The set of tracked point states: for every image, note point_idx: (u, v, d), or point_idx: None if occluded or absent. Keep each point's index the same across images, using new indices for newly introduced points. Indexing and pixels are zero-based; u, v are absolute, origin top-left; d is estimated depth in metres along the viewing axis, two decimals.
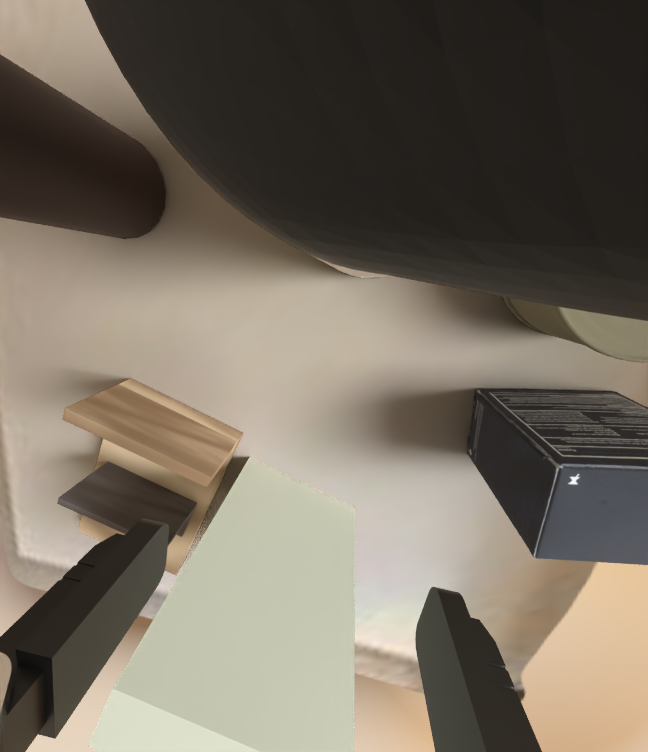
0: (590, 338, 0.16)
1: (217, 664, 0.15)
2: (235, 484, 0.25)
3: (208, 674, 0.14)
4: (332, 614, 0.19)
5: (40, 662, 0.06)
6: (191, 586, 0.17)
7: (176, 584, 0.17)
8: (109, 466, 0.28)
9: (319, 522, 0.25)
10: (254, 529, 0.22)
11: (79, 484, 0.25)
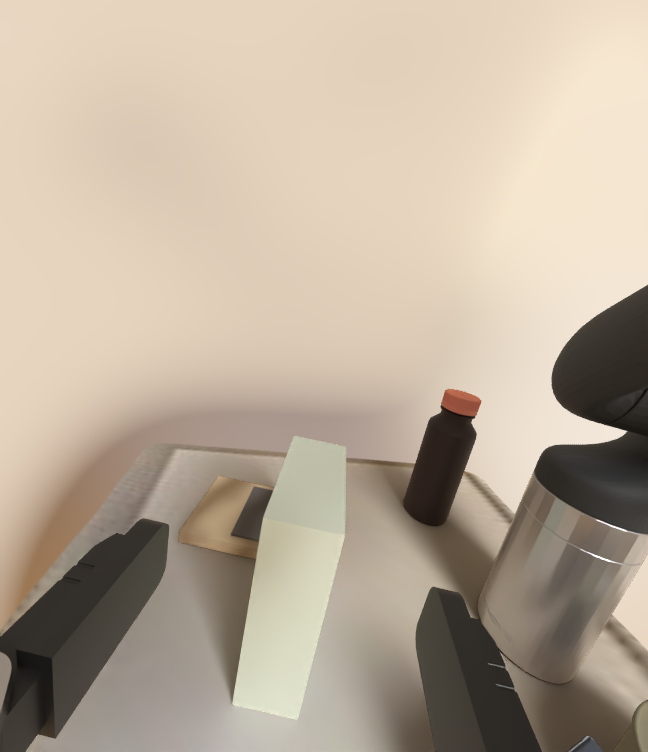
0: None
1: None
2: None
3: None
4: None
5: (40, 662, 0.06)
6: None
7: None
8: None
9: None
10: None
11: None
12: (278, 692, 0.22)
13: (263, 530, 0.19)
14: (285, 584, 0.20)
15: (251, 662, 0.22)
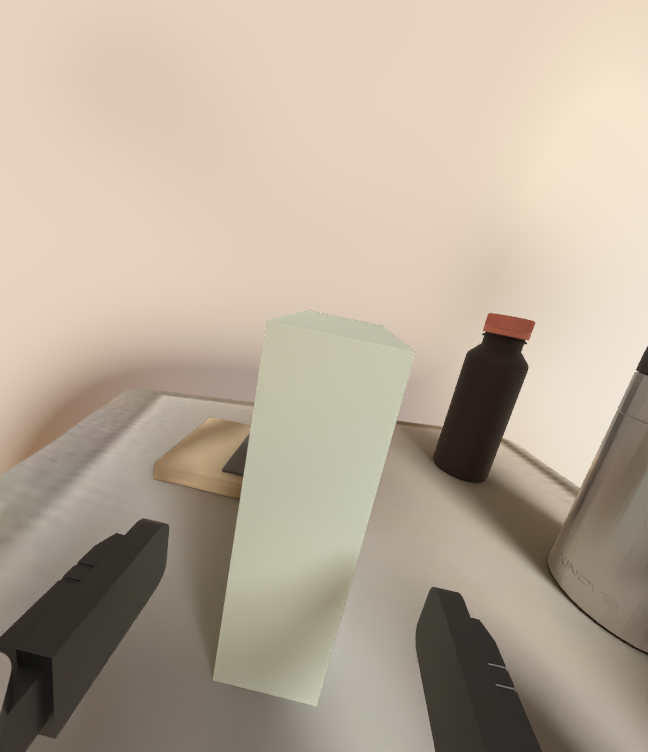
0: None
1: None
2: None
3: None
4: None
5: (40, 662, 0.06)
6: None
7: None
8: None
9: None
10: None
11: None
12: (287, 659, 0.14)
13: (267, 347, 0.10)
14: (304, 457, 0.11)
15: (244, 606, 0.13)
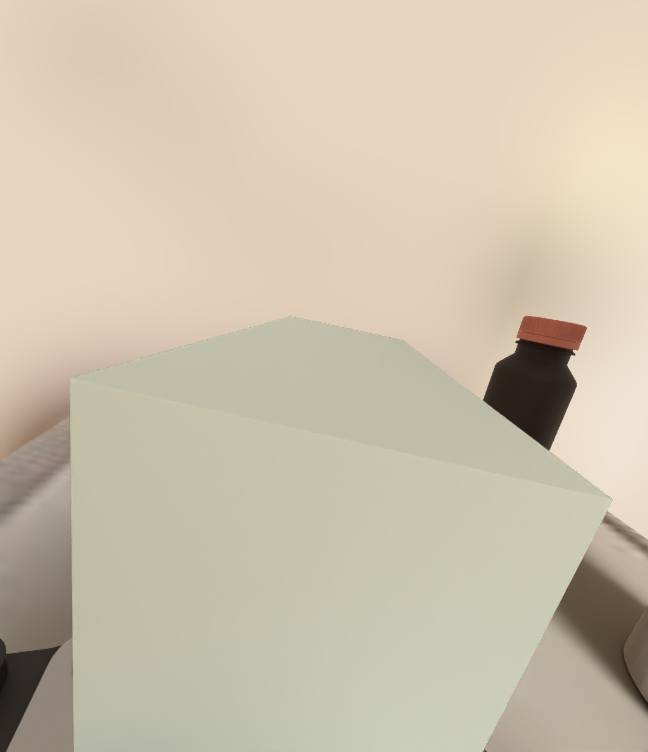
0: None
1: None
2: None
3: None
4: None
5: None
6: None
7: None
8: None
9: None
10: None
11: None
12: None
13: (85, 464, 0.03)
14: None
15: None
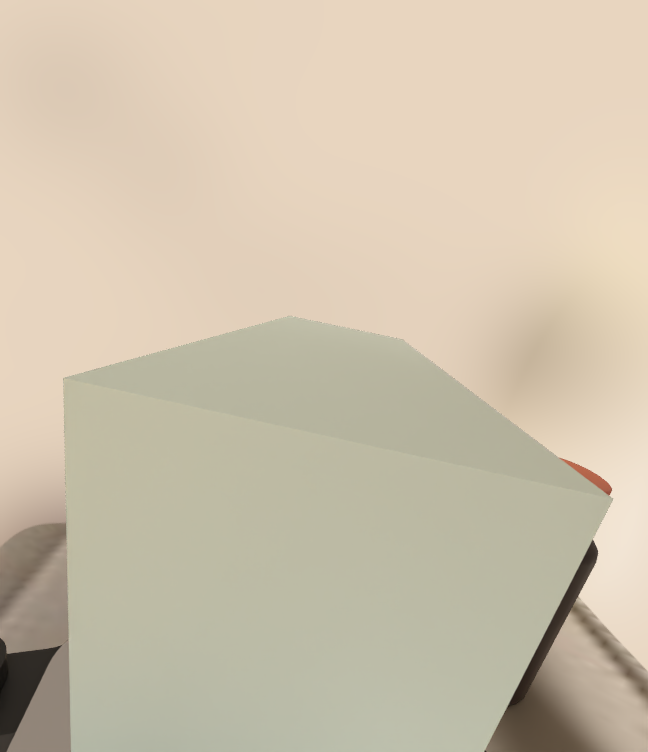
0: None
1: None
2: None
3: None
4: None
5: None
6: None
7: None
8: None
9: None
10: None
11: None
12: None
13: (80, 465, 0.03)
14: None
15: None
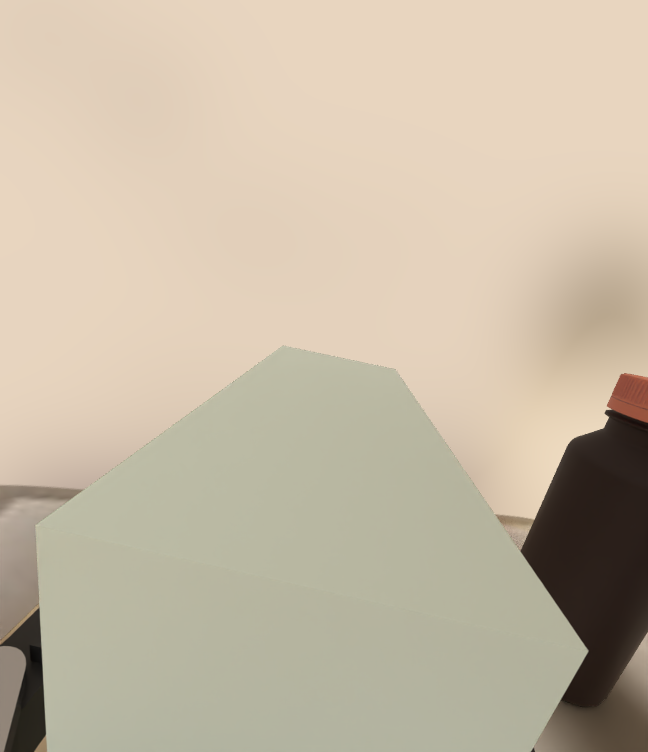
0: None
1: None
2: None
3: None
4: None
5: None
6: None
7: None
8: None
9: None
10: None
11: None
12: None
13: (55, 601, 0.03)
14: None
15: None
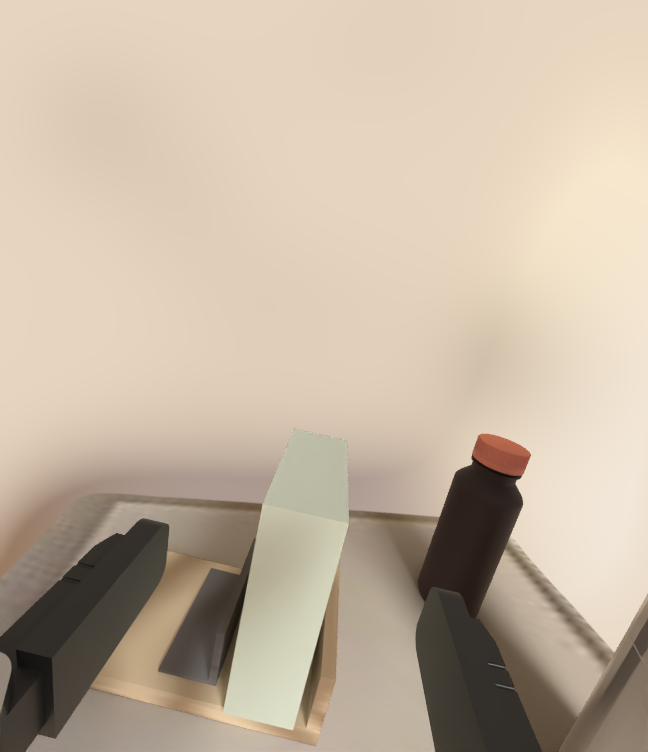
0: None
1: None
2: None
3: None
4: None
5: (40, 662, 0.06)
6: None
7: None
8: None
9: None
10: None
11: None
12: (273, 699, 0.21)
13: (262, 517, 0.18)
14: (284, 577, 0.18)
15: (245, 665, 0.20)
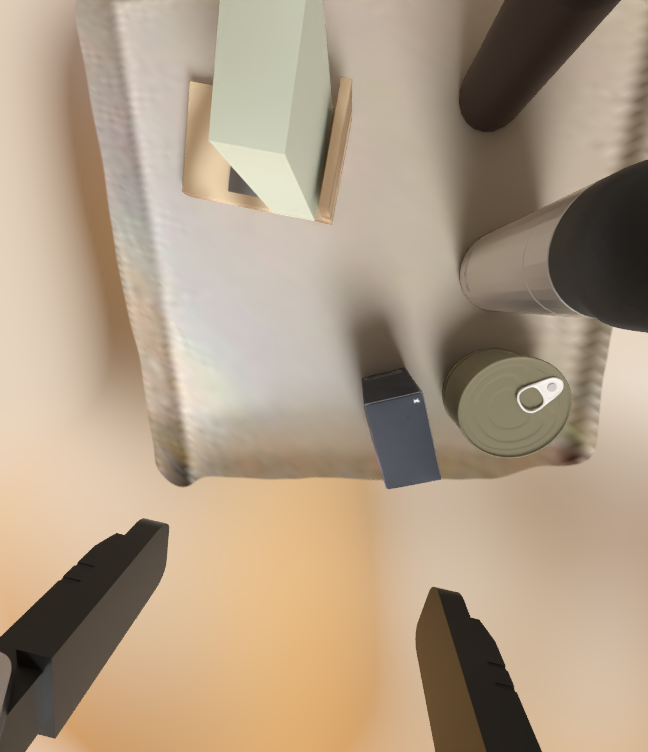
0: (464, 393, 0.34)
1: (309, 39, 0.20)
2: (330, 88, 0.29)
3: (308, 28, 0.19)
4: (304, 170, 0.25)
5: (40, 662, 0.06)
6: (321, 20, 0.21)
7: None
8: None
9: (316, 177, 0.31)
10: (322, 102, 0.27)
11: None
12: (295, 212, 0.34)
13: (216, 147, 0.20)
14: (261, 174, 0.24)
15: (269, 201, 0.31)
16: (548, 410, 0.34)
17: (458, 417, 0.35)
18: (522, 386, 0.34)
